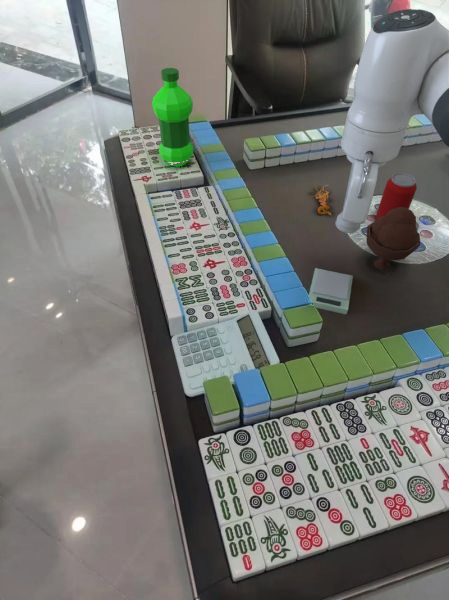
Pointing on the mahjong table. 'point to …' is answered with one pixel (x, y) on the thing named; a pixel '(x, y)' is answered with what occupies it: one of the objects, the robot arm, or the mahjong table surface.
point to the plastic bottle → (173, 119)
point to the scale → (331, 290)
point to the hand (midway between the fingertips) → (351, 212)
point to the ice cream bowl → (393, 236)
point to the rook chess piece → (346, 225)
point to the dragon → (323, 200)
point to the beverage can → (397, 193)
